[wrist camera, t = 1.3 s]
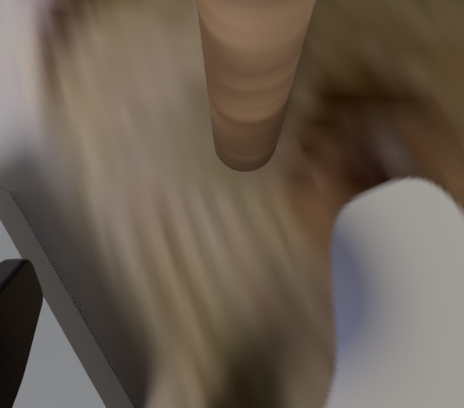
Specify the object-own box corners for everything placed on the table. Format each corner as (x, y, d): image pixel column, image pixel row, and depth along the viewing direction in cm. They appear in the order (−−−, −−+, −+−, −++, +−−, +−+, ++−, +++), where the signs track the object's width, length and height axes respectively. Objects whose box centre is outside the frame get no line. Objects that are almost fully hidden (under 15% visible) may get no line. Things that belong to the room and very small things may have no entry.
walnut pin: (287, 150, 22) (358, -45, 10) (236, 182, 22) (240, 25, 9) (252, 102, 23) (276, -139, 10) (202, 134, 23) (162, -76, 10)
